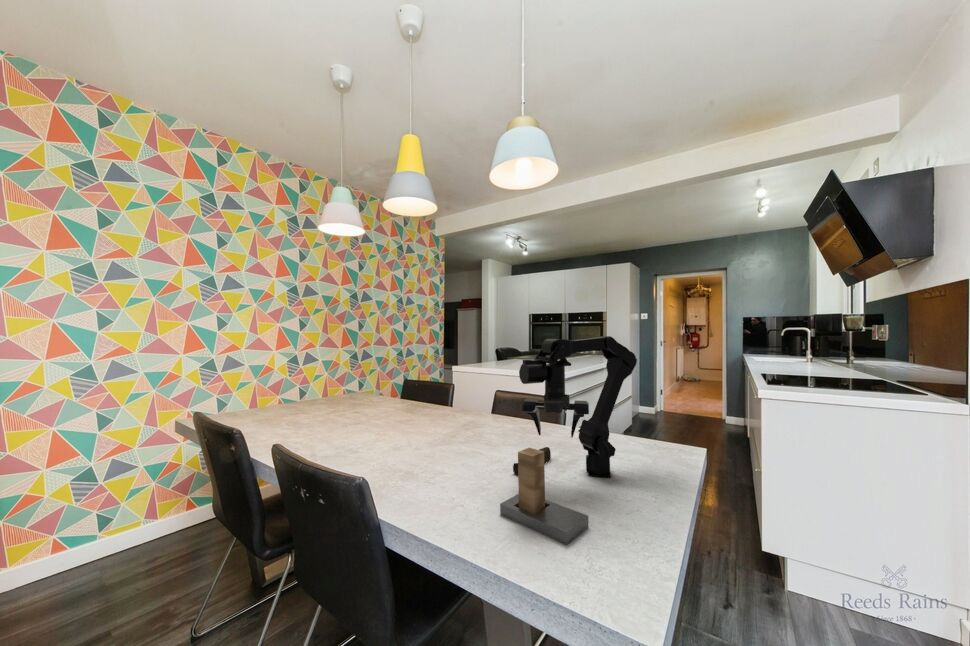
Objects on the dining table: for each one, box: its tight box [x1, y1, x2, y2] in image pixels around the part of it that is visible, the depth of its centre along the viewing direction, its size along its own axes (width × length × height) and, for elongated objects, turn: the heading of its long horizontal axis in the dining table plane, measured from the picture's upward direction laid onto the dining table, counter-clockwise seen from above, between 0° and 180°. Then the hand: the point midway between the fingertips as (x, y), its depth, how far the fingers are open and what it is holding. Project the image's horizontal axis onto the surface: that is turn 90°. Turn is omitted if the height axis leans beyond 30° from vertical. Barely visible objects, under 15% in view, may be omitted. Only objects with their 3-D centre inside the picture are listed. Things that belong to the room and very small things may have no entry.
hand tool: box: [512, 446, 552, 476], centre depth 113 cm, size 19×4×5 cm, turn 136°
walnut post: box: [517, 447, 546, 515], centre depth 83 cm, size 4×4×15 cm
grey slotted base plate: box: [499, 493, 589, 546], centre depth 81 cm, size 18×9×2 cm, turn 46°
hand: (555, 436), depth 102 cm, fingers open, 9 cm apart
